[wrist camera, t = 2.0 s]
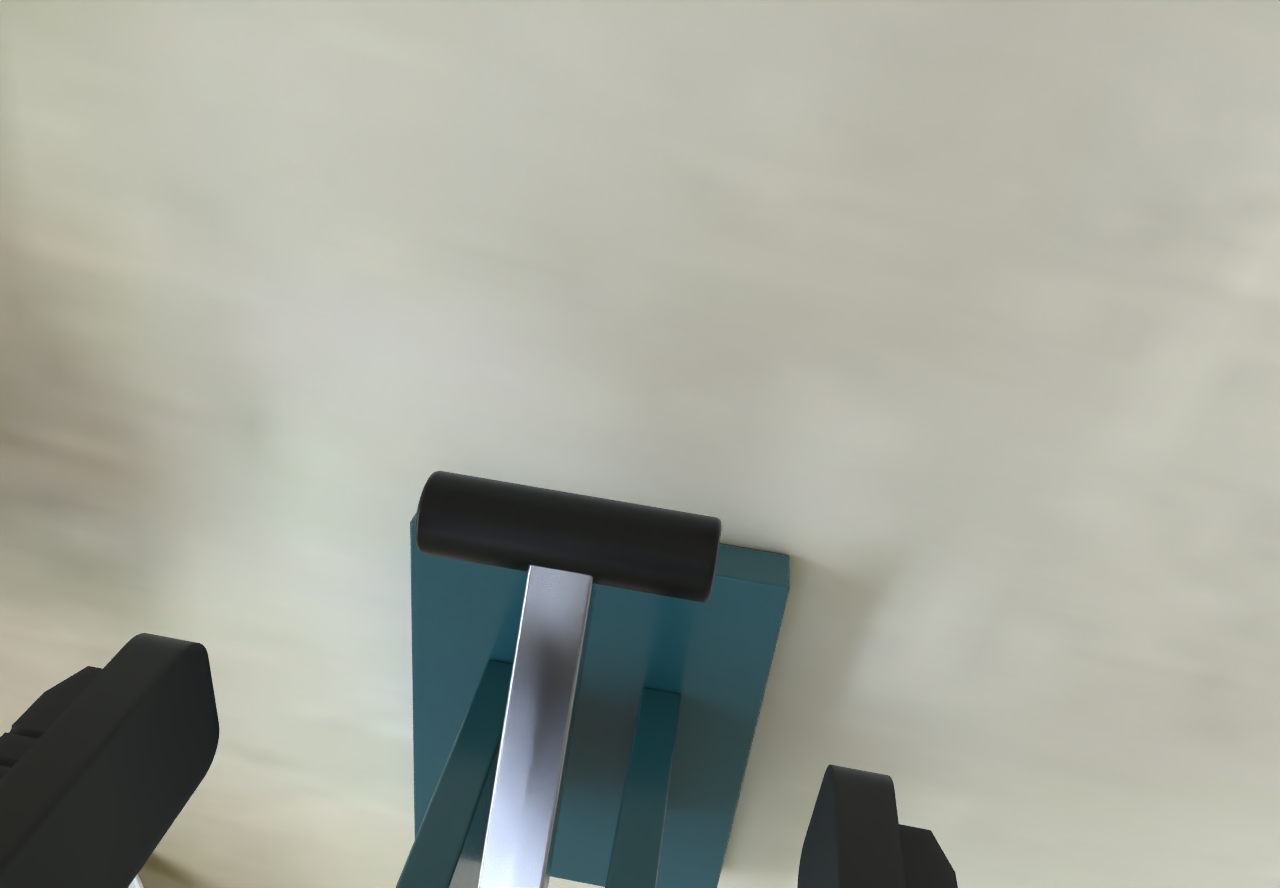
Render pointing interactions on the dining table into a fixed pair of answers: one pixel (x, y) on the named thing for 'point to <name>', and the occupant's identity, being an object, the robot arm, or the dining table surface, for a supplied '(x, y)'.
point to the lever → (554, 626)
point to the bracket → (594, 720)
